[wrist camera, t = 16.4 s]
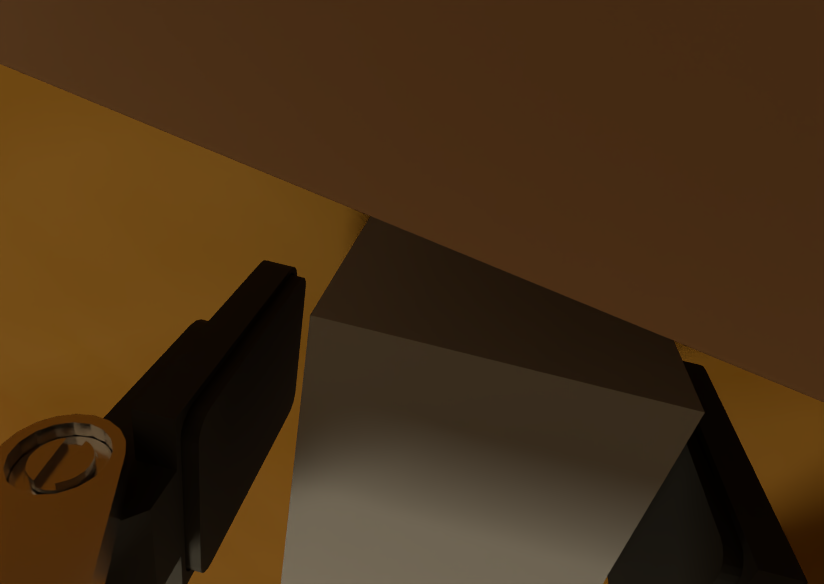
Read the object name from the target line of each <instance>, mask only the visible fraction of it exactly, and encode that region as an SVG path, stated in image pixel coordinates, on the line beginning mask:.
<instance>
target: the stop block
mask: <svg viewBox="0 0 824 584" xmlns="http://www.w3.org/2000/svg"><path fill="white" fill-rule="evenodd" d="M704 413H705V412H704V410H703V407H702V405H701V403H700V400H699V398H698V396H697V393H696V391H695V389H694V387H693V384H692V382H691V380H690V377H689V375H688V373H687V370H686V368H685V366H684V363H683V361H682V359H681V357H680V354H679V352H678V350H677V347H676V345H675V343H674V340H671V339H669V338H666V337H664V336H661V335H659V334H656V333H654V332H652V331H649V330H647V329H644V328H642V327H639V326H637V325H635V324H632V323H630V322H627V321H625V320H622V319H620V318H618V317H615V316H613V315H610V314H608V313H605V312H603V311H600V310H598V309H596V308H593V307H591V306H588V305H586V304H583V303H581V302H579V301H576V300H574V299H571V298H569V297H566V296H564V295H562V294H559V293H557V292H554V291H552V290H549V289H547V288H545V287H542V286H540V285H537V284H535V283H532V282H530V281H527V280H525V279H523V278H520V277H518V276H515V275H513V274H510V273H508V272H506V271H503V270H501V269H498V268H496V267H493V266H491V265H489V264H486V263H484V262H481V261H479V260H476V259H474V258H472V257H469V256H467V255H464V254H462V253H459V252H457V251H454V250H452V249H450V248H447V247H445V246H442V245H440V244H437V243H435V242H433V241H430V240H428V239H425V238H423V237H420V236H418V235H416V234H413V233H411V232H408V231H406V230H403V229H401V228H399V227H396V226H394V225H391V224H389V223H386V222H384V221H381V220H379V219H377V218H374V217H372V216H370V218H369V220H368V221H367V223H366V225H365V226H364V228H363V229H362V231H361V233H360V234H359V236H358V238H357V239H356V241H355V243H354V244H353V246H352V248H351V249H350V251H349V252H348V254H347V256H346V257H345V259H344V261H343V262H342V264H341V266H340V267H339V269H338V271H337V272H336V274H335V275H334V277H333V279H332V280H331V282H330V284H329V285H328V287H327V289H326V290H325V292H324V294H323V295H322V297H321V298H320V300H319V302H318V303H317V305H316V307H315V308H314V310H313V312H312V313H311V315H310V323H309V332H308V341H307V350H306V359H305V369H304V378H303V387H302V396H301V405H300V414H299V424H298V433H297V442H296V451H295V460H294V469H293V479H292V488H291V497H290V506H289V515H288V524H287V533H286V543H285V552H284V561H283V570H282V579H281V584H603V582H604V580H605V579H606V577H607V575H608V574H609V572H610V570H611V569H612V567H613V565H614V564H615V562H616V560H617V559H618V557H619V555H620V554H621V552H622V550H623V549H624V547H625V545H626V544H627V542H628V540H629V539H630V537H631V535H632V534H633V532H634V530H635V528H636V527H637V525H638V523H639V522H640V520H641V518H642V517H643V515H644V513H645V512H646V510H647V508H648V507H649V505H650V503H651V502H652V500H653V498H654V497H655V495H656V493H657V492H658V490H659V488H660V487H661V485H662V483H663V482H664V480H665V478H666V477H667V475H668V473H669V472H670V470H671V468H672V467H673V465H674V463H675V462H676V460H677V458H678V456H679V455H680V453H681V451H682V450H683V448H684V446H685V445H686V443H687V441H688V440H689V438H690V436H691V435H692V433H693V431H694V430H695V428H696V426H697V425H698V423H699V421H700V420H701V418H702V416H703V415H704Z"/></svg>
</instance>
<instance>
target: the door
mask: <svg viewBox="0 0 824 584" xmlns="http://www.w3.org/2000/svg"><path fill="white" fill-rule="evenodd" d="M0 64H2V65H4V66H7V67H9V68H12V69H14V70H16V71H19V72H21V73H24V74H26V75H29V76H31V77H33V78H36V79H38V80H41V81H43V82H46V83H48V84H51V85H53V86H55V87H58V88H60V89H63V90H65V91H68V92H70V93H72V94H75V95H77V96H80V97H82V98H85V99H87V100H89V101H92V102H94V103H97V104H99V105H102V106H104V107H106V108H109V109H111V110H114V111H116V112H119V113H121V114H124V115H126V116H128V117H131V118H133V119H136V120H138V121H141V122H143V123H145V124H148V125H150V126H153V127H155V128H158V129H160V130H162V131H165V132H167V133H170V134H172V135H175V136H177V137H179V138H182V139H184V140H187V141H189V142H192V143H194V144H197V145H199V146H201V147H204V148H206V149H209V150H211V151H214V152H216V153H218V154H221V155H223V156H226V157H228V158H231V159H233V160H235V161H238V162H240V163H243V164H245V165H248V166H250V167H252V168H255V169H257V170H260V171H262V172H265V173H267V174H270V175H272V176H274V177H277V178H279V179H282V180H284V181H287V182H289V183H291V184H294V185H296V186H299V187H301V188H304V189H306V190H308V191H311V192H313V193H316V194H318V195H321V196H323V197H326V198H328V199H330V200H333V201H335V202H338V203H340V204H343V205H345V206H347V207H350V208H352V209H355V210H357V211H360V212H362V213H364V214H367V215H369V216H372V217H374V218H377V219H379V220H381V221H384V222H386V223H389V224H391V225H394V226H396V227H399V228H401V229H403V230H406V231H408V232H411V233H413V234H416V235H418V236H420V237H423V238H425V239H428V240H430V241H433V242H435V243H437V244H440V245H442V246H445V247H447V248H450V249H452V250H454V251H457V252H459V253H462V254H464V255H467V256H469V257H472V258H474V259H476V260H479V261H481V262H484V263H486V264H489V265H491V266H493V267H496V268H498V269H501V270H503V271H506V272H508V273H510V274H513V275H515V276H518V277H520V278H523V279H525V280H527V281H530V282H532V283H535V284H537V285H540V286H542V287H545V288H547V289H549V290H552V291H554V292H557V293H559V294H562V295H564V296H566V297H569V298H571V299H574V300H576V301H579V302H581V303H583V304H586V305H588V306H591V307H593V308H596V309H598V310H600V311H603V312H605V313H608V314H610V315H613V316H615V317H618V318H620V319H622V320H625V321H627V322H630V323H632V324H635V325H637V326H639V327H642V328H644V329H647V330H649V331H652V332H654V333H656V334H659V335H661V336H664V337H666V338H669V339H671V340H674V341H676V342H678V343H681V344H683V345H686V346H688V347H691V348H693V349H695V350H698V351H700V352H703V353H705V354H708V355H710V356H712V357H715V358H717V359H720V360H722V361H725V362H727V363H729V364H732V365H734V366H737V367H739V368H742V369H744V370H747V371H749V372H751V373H754V374H756V375H759V376H761V377H764V378H766V379H768V380H771V381H773V382H776V383H778V384H781V385H783V386H785V387H788V388H790V389H793V390H795V391H798V392H800V393H802V394H805V395H807V396H810V397H812V398H815V399H817V400H820V401H822V402H824V0H0Z"/></svg>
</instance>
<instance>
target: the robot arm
mask: <svg viewBox="0 0 824 584" xmlns="http://www.w3.org/2000/svg"><path fill="white" fill-rule="evenodd" d="M305 288H306V281H305V278H302V277H298V276H297V270H296V268H295V267H291V266H287V265H283V264H279V263H275V262H270V261H266V260H264V261H262V262H261V263H260V264H259V265H258V266H257V268H256V269H255V270H254V271H253V272H252V273H251V274H250V275H249V277H248V278H247V279H246V280H245V281H244V282H243V283H242V284H241V285H240V287H239V288H238V289H237V290H236V291H235V292H234V293H233V294H232V296H231V297H230V298H229V299H228V300H227V301H226V302H225V303H224V305H223V306H222V307H221V308H220V309H219V310H218V311H217V312H216V313H215V315H214V316H213V317H212V318H211V319H210V320H209V321H206V320H196V321H195V322H194V323H193V324H191V325H190V326H189V327H188V328H187V329H186V330H185V331H184V333H183V334H182V335H181V336H180V337H179V338H178V339H177V340H176V341H175V342H174V343H173V344H172V345H171V346H170V348H169V349H168V350H167V351H166V352H165V353H164V354H163V355H162V356H161V357H160V358H159V359H158V360H157V361H156V362H155V364H154V365H153V366H152V367H151V368H150V369H149V370H148V371H147V372H146V373H145V374H144V375H143V376H142V377H141V379H140V380H139V381H138V382H137V383H136V384H135V385H134V386H133V387H132V388H131V389H130V390H129V391H128V392H127V393H126V395H125V396H124V397H123V398H122V399H121V400H120V401H119V402H118V403H117V404H116V405H115V406H114V407H113V408H112V410H111V411H110V412H109V413H108V414H107V415H106V416H105V417H104V418H100V417H97V416H94V415H83V414H72V415H63V416H56V417H52V418H49V419H46V420H42V421H39V422H36V423H34V424H32V425H30V426H28V427H26V428H24V429H22V430H20V431H18V432H17V433H15V434H14V435H13V436H12V437H10V438H9V439H8V440H6V441H5V442H4V443H3V444H2V445H1V446H0V584H187V583H188V581H189V580H190V578H191V576H192V574H193V572H194V571H198V572H202V573H204V572H205V571H206V570H207V569H208V567H209V565H210V564H211V562H212V560H213V558H214V556H215V554H216V552H217V551H218V549H219V547H220V545H221V543H222V541H223V539H224V537H225V535H226V533H227V531H228V529H229V527H230V526H231V524H232V522H233V520H234V518H235V516H236V514H237V512H238V510H239V508H240V506H241V504H242V503H243V501H244V499H245V497H246V495H247V493H248V491H249V489H250V487H251V485H252V483H253V481H254V479H255V478H256V476H257V474H258V472H259V470H260V468H261V466H262V464H263V462H264V460H265V458H266V456H267V455H268V453H269V451H270V449H271V447H272V445H273V443H274V441H275V439H276V437H277V435H278V433H279V431H280V430H281V428H282V426H283V424H284V422H285V420H286V418H287V416H288V414H289V412H290V410H291V407H292V404H293V401H294V397H295V390H296V380H297V370H298V359H299V349H300V339H301V329H302V318H303V308H304V298H305ZM683 363H684V366H685V368H686V370H687V373H688V375H689V377H690V380H691V382H692V384H693V387H694V389H695V391H696V393H697V396H698V398H699V400H700V403H701V405H702V407H703V410H704V412H705V413H704V415H703V416H702V418H701V420H700V421H699V423H698V425H697V426H696V428H695V430H694V431H693V433H692V435H691V436H690V438H689V440H688V441H687V443H686V445H685V446H684V448H683V450H682V451H681V453H680V455H679V456H678V458H677V460H676V462H675V463H674V465H673V467H672V468H671V470H670V472H669V473H668V475H667V477H666V478H665V480H664V482H663V483H662V485H661V487H660V488H659V490H658V492H657V493H656V495H655V497H654V498H653V500H652V502H651V503H650V505H649V507H648V508H647V510H646V512H645V513H644V515H643V517H642V518H641V520H640V522H639V523H638V525H637V527H636V528H635V530H634V532H633V534H632V535H631V537H630V539H629V540H628V542H627V544H626V545H625V547H624V549H623V550H622V552H621V554H620V555H619V557H618V559H617V560H616V562H615V564H614V565H613V567H612V569H611V570H610V572H609V574H608V575H607V576H608V583H609V584H807V583H808V582H807V580H806V578H805V575H804V573H803V571H802V569H801V567H800V565H799V563H798V561H797V559H796V557H795V555H794V553H793V551H792V548H791V546H790V544H789V542H788V540H787V538H786V536H785V534H784V532H783V530H782V528H781V526H780V523H779V521H778V519H777V517H776V515H775V513H774V511H773V509H772V507H771V505H770V503H769V501H768V499H767V496H766V494H765V492H764V490H763V488H762V486H761V484H760V482H759V480H758V478H757V476H756V474H755V471H754V469H753V467H752V465H751V463H750V461H749V459H748V457H747V455H746V453H745V451H744V449H743V447H742V444H741V442H740V440H739V438H738V436H737V434H736V432H735V430H734V428H733V426H732V424H731V422H730V420H729V417H728V415H727V413H726V411H725V409H724V407H723V405H722V403H721V401H720V399H719V397H718V395H717V392H716V390H715V388H714V386H713V384H712V382H711V380H710V378H709V376H708V374H707V372H706V370H705V368H704V367H703V366H701V365H698V364H694V363H690V362H685V361H683Z"/></svg>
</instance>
